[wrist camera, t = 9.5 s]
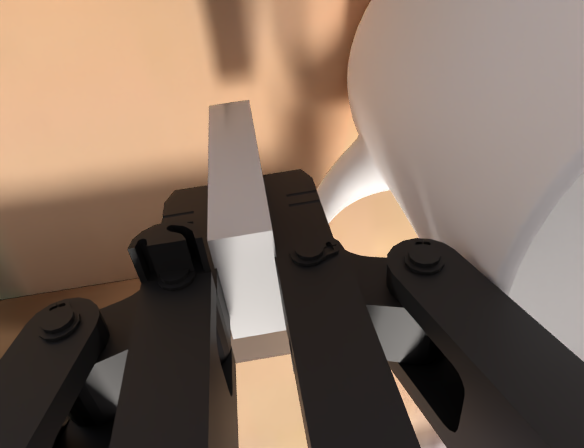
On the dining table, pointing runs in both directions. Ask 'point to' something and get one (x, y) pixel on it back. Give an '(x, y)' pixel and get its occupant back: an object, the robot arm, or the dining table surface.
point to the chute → (18, 311)
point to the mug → (477, 140)
